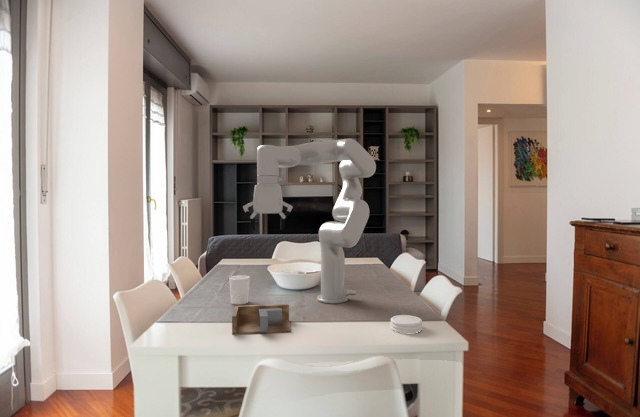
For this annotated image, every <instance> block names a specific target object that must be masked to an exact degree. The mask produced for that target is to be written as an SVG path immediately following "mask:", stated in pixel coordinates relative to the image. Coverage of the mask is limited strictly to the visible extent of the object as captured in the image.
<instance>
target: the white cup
mask: <svg viewBox="0 0 640 417" xmlns="http://www.w3.org/2000/svg"><path fill="white" fill-rule="evenodd" d="M250 278H251V277H250V276H249V275H241V274H239V275H238V274H237V275H232V276H229V277H228V279H229V295H230V296H229V297H230V303H231V304H232V305H235V306H241V305H245V304H248V303H249V296H250V282H251V281H250V280H251V279H250Z"/></svg>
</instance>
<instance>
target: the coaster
mask: <svg viewBox="0 0 640 417" xmlns="http://www.w3.org/2000/svg"><path fill="white" fill-rule="evenodd" d="M390 329H391V331H393V332H394V331H396V332H395V333H397V332H401V333H416V332H419V331H421V330H422V331H423V320H422V319H421V317H418V316H415V315H409V314H398V315H393V316H392V317H391V318H390ZM422 331H421V332H422ZM401 333H400V334H401Z"/></svg>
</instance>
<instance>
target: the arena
mask: <svg viewBox="0 0 640 417" xmlns="http://www.w3.org/2000/svg"><path fill="white" fill-rule="evenodd" d="M272 308H281V309H282V325H279V326H268V332H260V329H259V309H272ZM231 330H232V331H231V335H247V334H248V335H250V334H251V335H252V334H281V333H291V332H292V329H291V325H290V304H289V303H286V304H281V303H280V304H247V305H245V304H240V305H234V308H233V313H232V317H231Z"/></svg>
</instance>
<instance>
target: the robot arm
mask: <svg viewBox="0 0 640 417" xmlns="http://www.w3.org/2000/svg"><path fill="white" fill-rule="evenodd" d="M334 162H340V163H339V166H338V168H339V169H338V171H339V173H340V176H341V180H342V189H341V191H340V193H339V195H338V197H337V199H336V201H335V204H334V206H333V208H332V212H331V214H332V217H333V219H334V220H336V221H325V222H324V223H322V224H321V225H320V227H319V229H318V240H319V245H320V294H318V295H317V296H316V300H317V301H318V302H320V303H324V304H341V303H342V304H343V303H346V302H348V301H349V296H356V295H357V291H356V290H355V289H354V290H352V289H346V288H345V264H346V263H345V262H346V261H345V258H346V257H345V252H344V250H343V249H344V248H347V249H348V248H349V249H350V248H352V247H354V246H356V245H357V243H358V242H359V240H360V239H361V237H362V234H363V232H364V230H365V227H366V225H367V223H368V220H369V218H370V208H369V205H368V203H367V202H366V201H365V200H363V199H361V197H362V195H363V188H362V184H361V182H360V179H359V178H361V179H362V178H363V179H364V178H370V177H372V176H373V175H374V174H375V173H376V169H377V164H376V161H375V159H374V158H373V156H372V155H371V154H370V153H369V152H368V151H367V150H366V149H365V148H364V147H363V146H362V145H361V144H360V143H359V142H358V141H356V140H355V139H353V138H343V139H342V138H341V139H331V140H324V141H321V140H320V141H313V142H311V141H310V142H307V143H302V144H296V145H286V146H276V145H272V144H271V145H270V144H263V145H259V146H258V147H257V149H256V167H257V168H256V176H257V177H256V183H257V184H255V185H254V190H253V199H252V201H251V202H249V203H246V204H245V205H243V206H242V209H243V211H244V212H245V215H247V216H248V217H249V219H250V228H251V229H252V231H255V230H256V218H255V217H256V215H258V214H279V216H280V230H281V231H283V229H284V228H286V226H285V225H286V221H285V220H286V219H287V217H288V216H289V215H290V214H291V211H292V209H293V208H294V207H293V206H292V205H291V204H289V203H287V202H285V201H283V193H282V192H283V190H282V186H281V185H280V183H282V182H284V178H283V177H280V175H279V174H280V172H279V171H280V169H279V168H292V167H293V168H294V167H296V166H312V165H320V164H321V165H322V164H328V163H334ZM250 207H252V208H253V212H252V213H251V212H250V211H249V208H250ZM283 207H286V208H287V209H286V211H285V213H284V212H283Z"/></svg>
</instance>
